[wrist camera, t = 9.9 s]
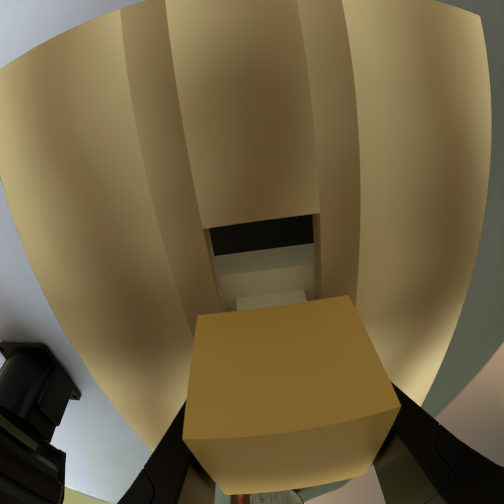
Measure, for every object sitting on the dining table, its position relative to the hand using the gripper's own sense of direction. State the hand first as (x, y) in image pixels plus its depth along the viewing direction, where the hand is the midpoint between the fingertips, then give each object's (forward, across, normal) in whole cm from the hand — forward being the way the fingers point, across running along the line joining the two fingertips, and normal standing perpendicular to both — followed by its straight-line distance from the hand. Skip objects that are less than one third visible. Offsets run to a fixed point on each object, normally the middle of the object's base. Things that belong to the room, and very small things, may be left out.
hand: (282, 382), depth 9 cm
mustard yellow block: (+4, 0, 0) cm, 4 cm away
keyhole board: (+8, 0, 0) cm, 8 cm away
